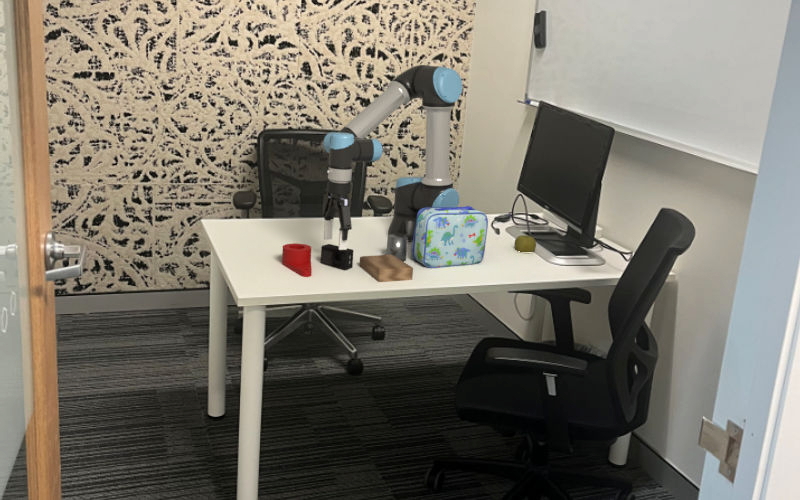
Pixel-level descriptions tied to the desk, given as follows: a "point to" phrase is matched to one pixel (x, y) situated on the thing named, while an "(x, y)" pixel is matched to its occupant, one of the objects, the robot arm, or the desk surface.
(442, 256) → the lunch box
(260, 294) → the desk surface
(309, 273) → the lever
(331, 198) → the robot arm
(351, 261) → the digital camera
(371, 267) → the walnut riser
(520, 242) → the olive rounded block
